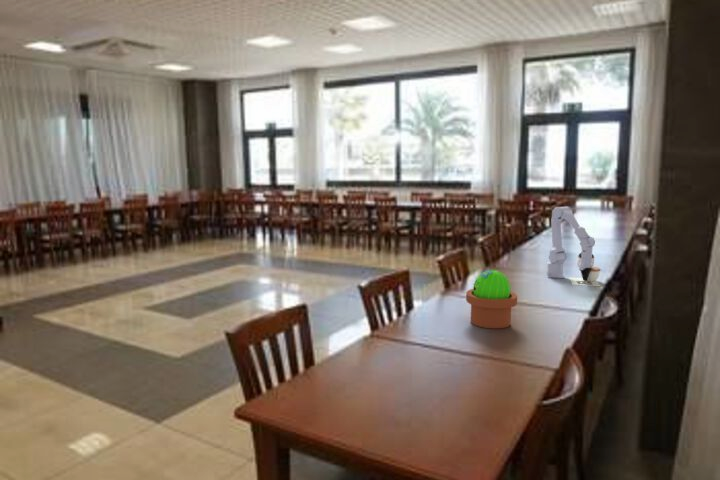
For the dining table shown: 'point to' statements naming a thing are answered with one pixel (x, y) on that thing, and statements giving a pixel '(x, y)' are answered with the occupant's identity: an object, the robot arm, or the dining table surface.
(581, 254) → the spread jar
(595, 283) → the placemat
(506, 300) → the potted cactus
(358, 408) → the dining table surface
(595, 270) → the lidded jar
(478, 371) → the dining table surface
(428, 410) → the dining table surface
